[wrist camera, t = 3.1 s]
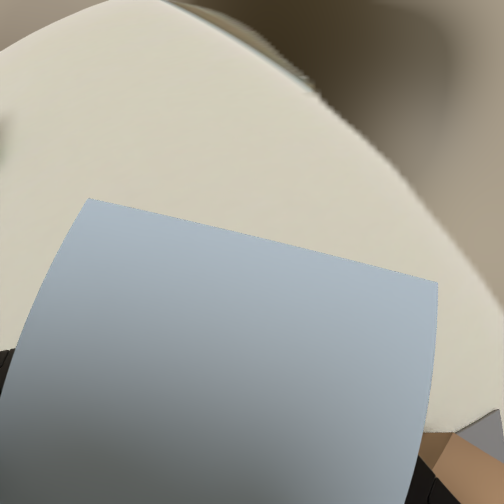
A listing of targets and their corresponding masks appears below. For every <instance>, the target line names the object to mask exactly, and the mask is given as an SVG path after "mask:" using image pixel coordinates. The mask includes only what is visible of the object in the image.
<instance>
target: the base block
mask: <svg viewBox="0 0 504 504" xmlns="http://www.w3.org/2000/svg"><path fill="white" fill-rule="evenodd" d="M418 455H419V456H420V457H421V458H422V459H423V461H424V462H425V463H426V464H427V465H428V466H429V468H430V469H431V470H432V471H433V472H434V474H435V475H436V477H438V478H439V479H440V480H441V482H442V483H443V484H444V485H445V486H446V488H447V489H448V490H449V491H450V492H451V493H452V494H453V495H454V496H455V498H456V499H457V500H458V501H459V502H460V503H461V504H504V463H502V462H500V461H499V460H497V459H495V458H494V457H492V456H490V455H489V454H487V453H485V452H484V451H482V450H481V449H479V448H477V447H476V446H474V445H473V444H471V443H469V442H468V441H466V440H465V439H463V438H461V437H460V436H458V435H457V434H455V433H453V432H449V433H423V434H422V439H421V443H420V448H419V452H418Z"/></svg>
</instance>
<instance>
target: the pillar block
mask: <svg viewBox="0 0 504 504" xmlns="http://www.w3.org/2000/svg"><path fill="white" fill-rule="evenodd" d="M437 307H438V283H437V282H433V281H430V280H426V279H422V278H418V277H414V276H411V275H407V274H403V273H399V272H395V271H391V270H387V269H384V268H380V267H376V266H372V265H368V264H364V263H360V262H356V261H352V260H348V259H344V258H340V257H336V256H332V255H328V254H324V253H320V252H316V251H312V250H308V249H304V248H300V247H296V246H292V245H288V244H284V243H280V242H275V241H271V240H267V239H263V238H259V237H255V236H251V235H246V234H242V233H238V232H234V231H230V230H225V229H221V228H217V227H213V226H209V225H204V224H200V223H196V222H191V221H187V220H183V219H178V218H174V217H170V216H165V215H161V214H157V213H152V212H148V211H144V210H139V209H135V208H130V207H126V206H121V205H117V204H112V203H108V202H103V201H99V200H94V199H90V198H88V199H87V201H86V202H85V204H84V206H83V207H82V209H81V211H80V212H79V214H78V216H77V218H76V219H75V221H74V223H73V225H72V226H71V228H70V230H69V232H68V234H67V235H66V237H65V239H64V241H63V243H62V245H61V247H60V249H59V250H58V252H57V254H56V256H55V258H54V260H53V262H52V264H51V266H50V268H49V270H48V272H47V275H46V277H45V279H44V281H43V283H42V285H41V287H40V290H39V292H38V294H37V296H36V299H35V301H34V303H33V305H32V308H31V310H30V313H29V315H28V317H27V320H26V322H25V325H24V327H23V330H22V333H21V335H20V338H19V341H18V343H17V346H16V349H15V352H14V355H13V358H12V361H11V364H10V367H9V370H8V373H7V376H6V379H5V383H4V386H3V390H2V393H1V397H0V504H404V502H405V499H406V496H407V493H408V489H409V486H410V483H411V479H412V476H413V472H414V468H415V464H416V460H417V456H418V452H419V448H420V443H421V439H422V434H423V429H424V424H425V419H426V413H427V408H428V402H429V395H430V388H431V381H432V373H433V364H434V354H435V343H436V328H437Z"/></svg>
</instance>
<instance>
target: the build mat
mask: <svg viewBox="0 0 504 504" xmlns="http://www.w3.org/2000/svg"><path fill="white" fill-rule="evenodd" d="M455 434H457V435H458V436H460V437H461V438H463V439H465V440H466V441H468V442H469V443H471V444H473V445H474V446H476V447H477V448H479V449H481V450H482V451H484V452H485V453H487V454H489V455H490V456H492V457H494V458H495V459H497V460H499V461H500V462H502V463H504V437H503V429H502V422H501V416H500V410H499V409H497V410H494V411H492V412H491V413H489V414H488V415H486V416H484V417H483V418H481V419H479V420H478V421H476V422H474V423H472V424H471V425H469V426H467V427H465V428H463V429H462V430H460V431H458V432H456V433H455Z"/></svg>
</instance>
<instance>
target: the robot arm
mask: <svg viewBox="0 0 504 504" xmlns="http://www.w3.org/2000/svg"><path fill="white" fill-rule="evenodd" d="M15 349H16V348H14V349H10V351H9V350H4V351H0V397H1V393H2V390H3V386H4V383H5V379H6V376H7V373H8V370H9V367H10V364H11V361H12V358H13V355H14V352H15ZM404 504H461V503H460V502H459V501H458V500H457V499H456V498H455V496H454V495H453V494H452V493H451V492H450V491H449V490H448V489H447V488H446V486H445V485H444V484H443V483H442V482H441V480H440V479H439V478H438V477H436V475H435V474H434V472H433V471H432V470H431V469H430V468H429V466H428V465H427V464H426V463H425V462H424V461H423V459H422V458H421V457H420V456H419V455H418V456H417V460H416V464H415V468H414V472H413V476H412V479H411V483H410V486H409V489H408V493H407V496H406V499H405V502H404Z"/></svg>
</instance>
